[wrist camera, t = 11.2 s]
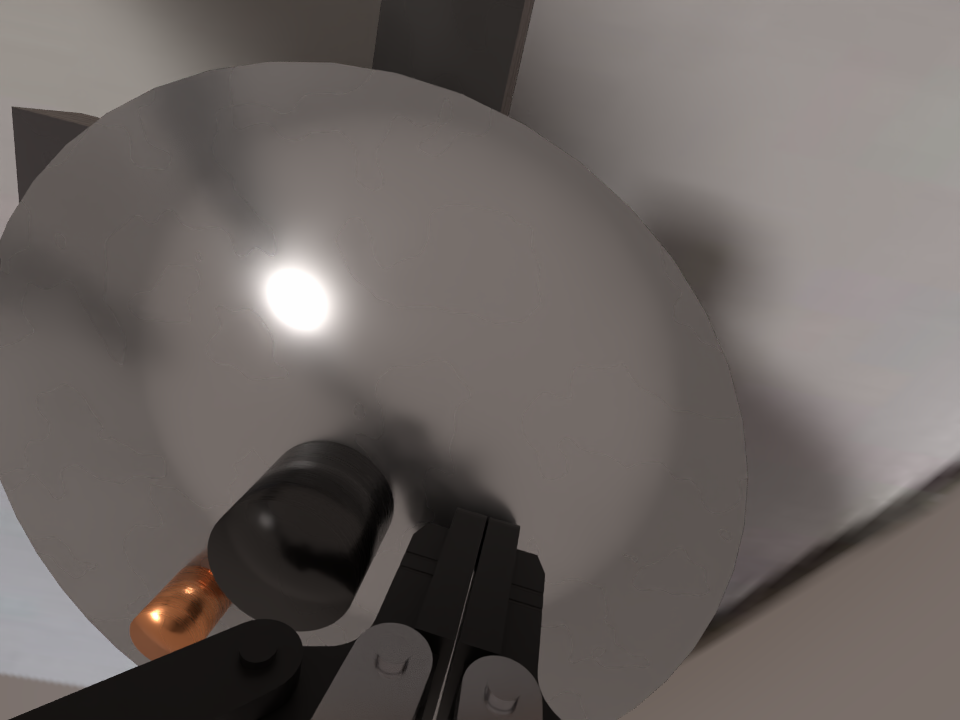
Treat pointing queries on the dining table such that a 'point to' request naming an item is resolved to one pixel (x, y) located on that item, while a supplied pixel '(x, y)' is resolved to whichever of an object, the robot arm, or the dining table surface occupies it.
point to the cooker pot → (399, 49)
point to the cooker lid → (359, 374)
